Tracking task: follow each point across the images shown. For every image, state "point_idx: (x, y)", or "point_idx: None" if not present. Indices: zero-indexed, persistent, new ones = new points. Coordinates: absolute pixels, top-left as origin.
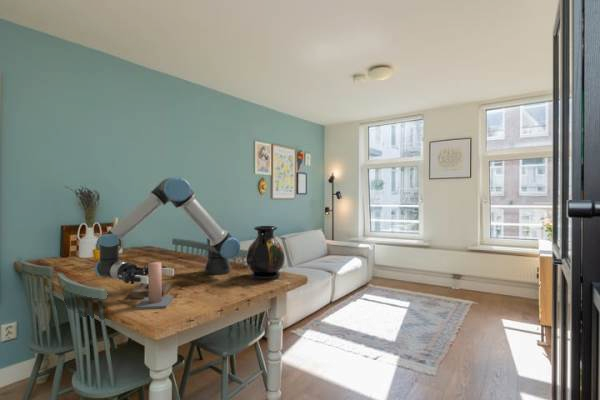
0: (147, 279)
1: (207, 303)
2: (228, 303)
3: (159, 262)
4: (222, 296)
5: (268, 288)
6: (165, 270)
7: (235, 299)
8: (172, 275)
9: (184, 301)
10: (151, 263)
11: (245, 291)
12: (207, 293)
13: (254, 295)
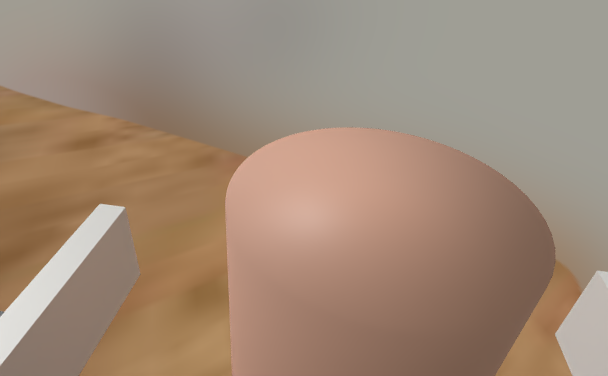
0: (594, 299)
1: (225, 210)
2: (213, 154)
3: (256, 172)
4: (105, 192)
5: (3, 101)
6: (42, 352)
7: (157, 148)
8: (139, 274)
9: (204, 326)
10: (436, 258)
11: (30, 144)
12: (20, 271)
13: (103, 117)
